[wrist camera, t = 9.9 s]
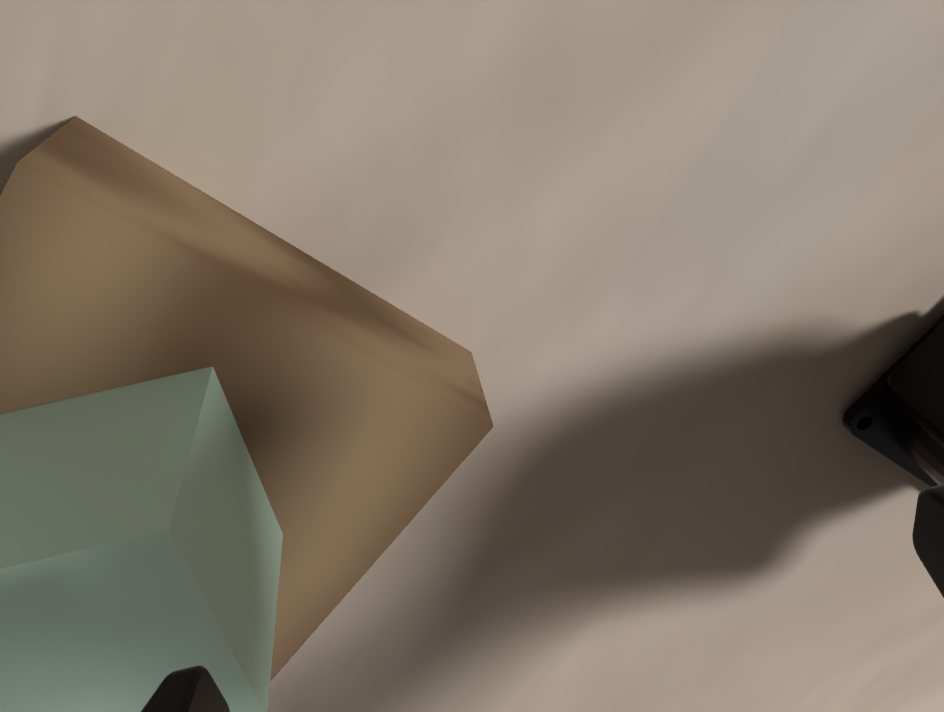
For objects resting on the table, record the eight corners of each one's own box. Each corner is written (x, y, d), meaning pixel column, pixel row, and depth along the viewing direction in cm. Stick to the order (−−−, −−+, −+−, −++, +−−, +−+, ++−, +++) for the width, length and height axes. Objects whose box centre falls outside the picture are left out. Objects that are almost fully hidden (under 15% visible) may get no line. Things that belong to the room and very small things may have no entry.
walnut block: (469, 344, 22) (493, 426, 18) (267, 590, 25) (256, 697, 22) (81, 111, 17) (17, 162, 14) (-98, 451, 21) (-184, 558, 17)
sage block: (212, 366, 16) (169, 530, 12) (282, 534, 19) (267, 717, 15) (-23, 419, 16) (-154, 605, 12) (81, 582, 19) (5, 782, 14)
